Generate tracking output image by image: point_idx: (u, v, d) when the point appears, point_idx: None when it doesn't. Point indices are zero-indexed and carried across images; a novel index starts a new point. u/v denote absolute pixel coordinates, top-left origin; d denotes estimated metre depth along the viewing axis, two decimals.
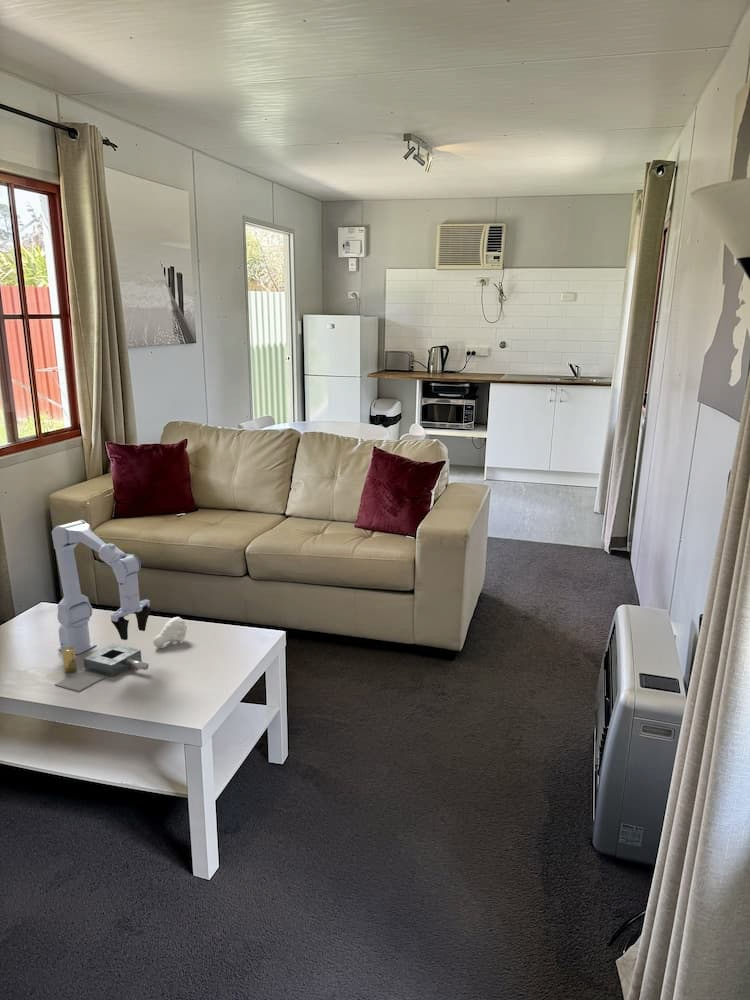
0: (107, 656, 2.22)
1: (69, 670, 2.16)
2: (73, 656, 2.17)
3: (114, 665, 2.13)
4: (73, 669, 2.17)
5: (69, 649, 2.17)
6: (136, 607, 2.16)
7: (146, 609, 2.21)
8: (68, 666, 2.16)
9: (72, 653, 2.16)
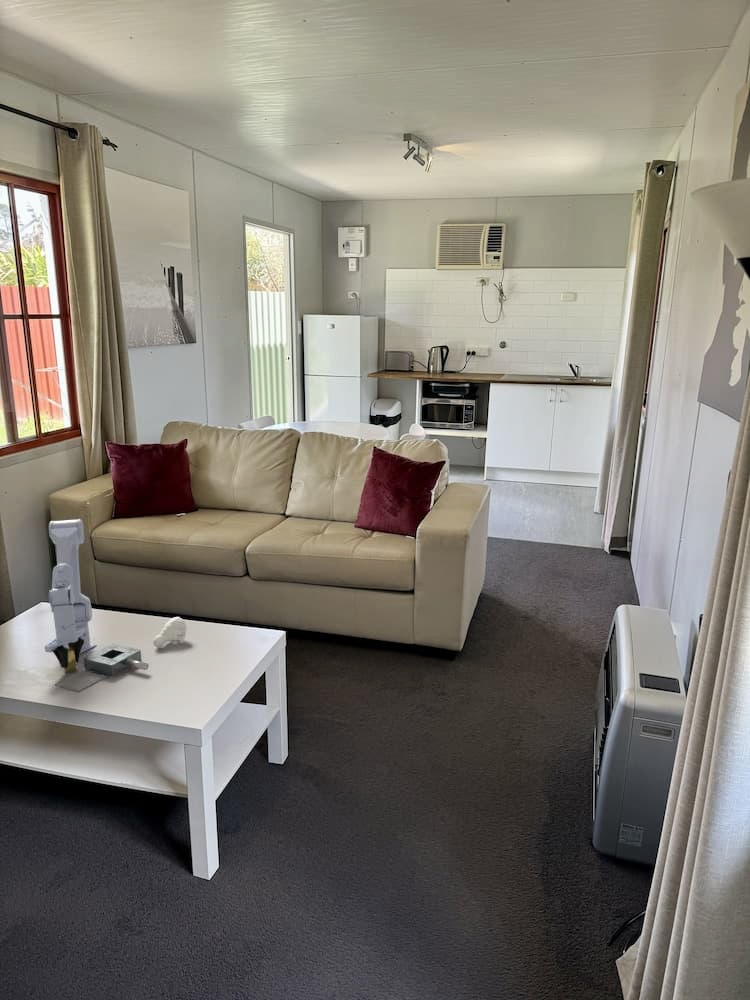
0: (107, 656, 2.22)
1: (69, 670, 2.16)
2: (73, 656, 2.17)
3: (114, 665, 2.13)
4: (73, 669, 2.17)
5: (69, 649, 2.17)
6: (71, 637, 2.14)
7: (79, 641, 2.18)
8: (68, 666, 2.16)
9: (72, 653, 2.16)
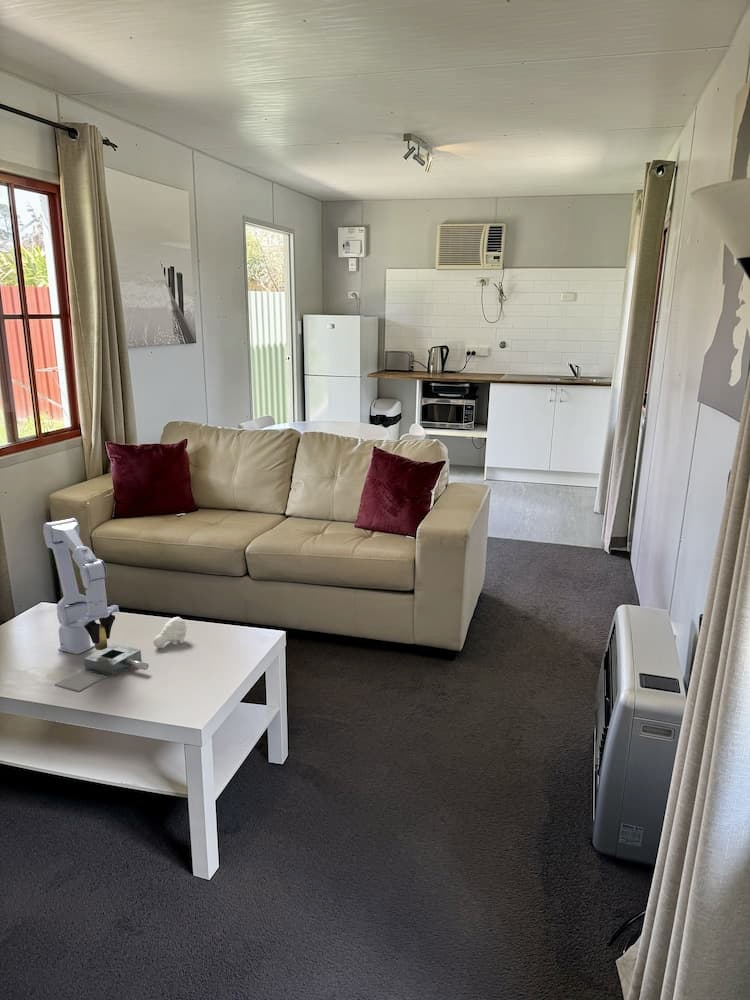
0: (107, 656, 2.22)
1: (101, 647, 2.17)
2: (105, 633, 2.18)
3: (114, 665, 2.13)
4: (105, 646, 2.18)
5: (100, 626, 2.17)
6: (103, 613, 2.15)
7: (110, 616, 2.18)
8: (100, 642, 2.17)
9: (104, 630, 2.17)
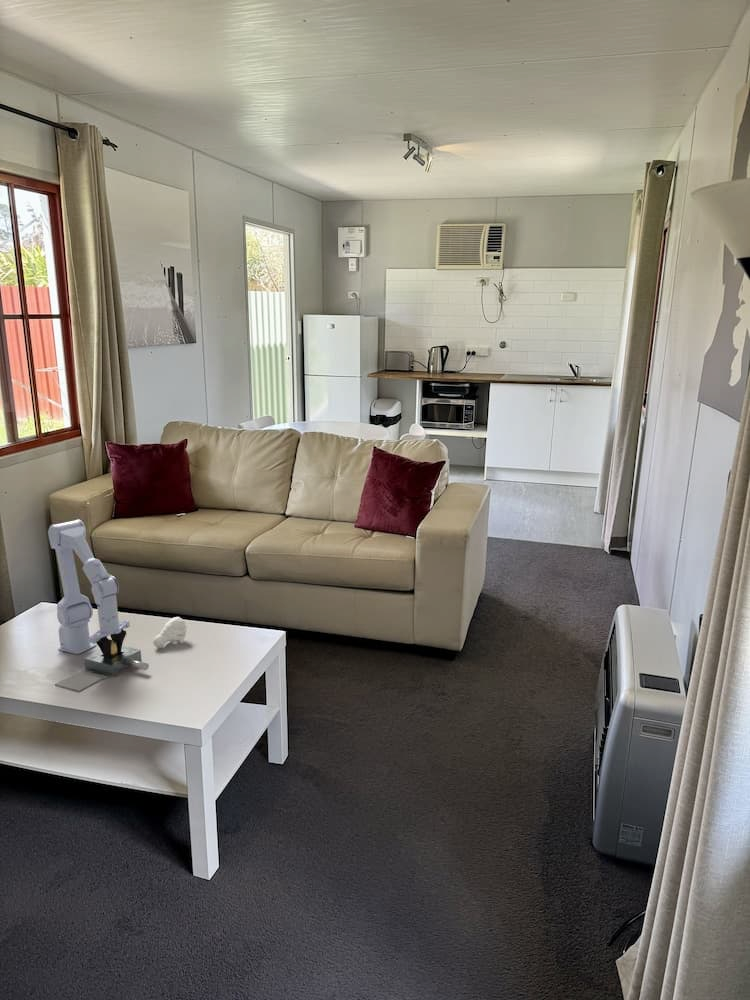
0: None
1: None
2: (116, 648, 2.19)
3: (114, 665, 2.13)
4: None
5: None
6: (115, 629, 2.16)
7: (121, 632, 2.20)
8: (112, 658, 2.19)
9: (115, 645, 2.19)
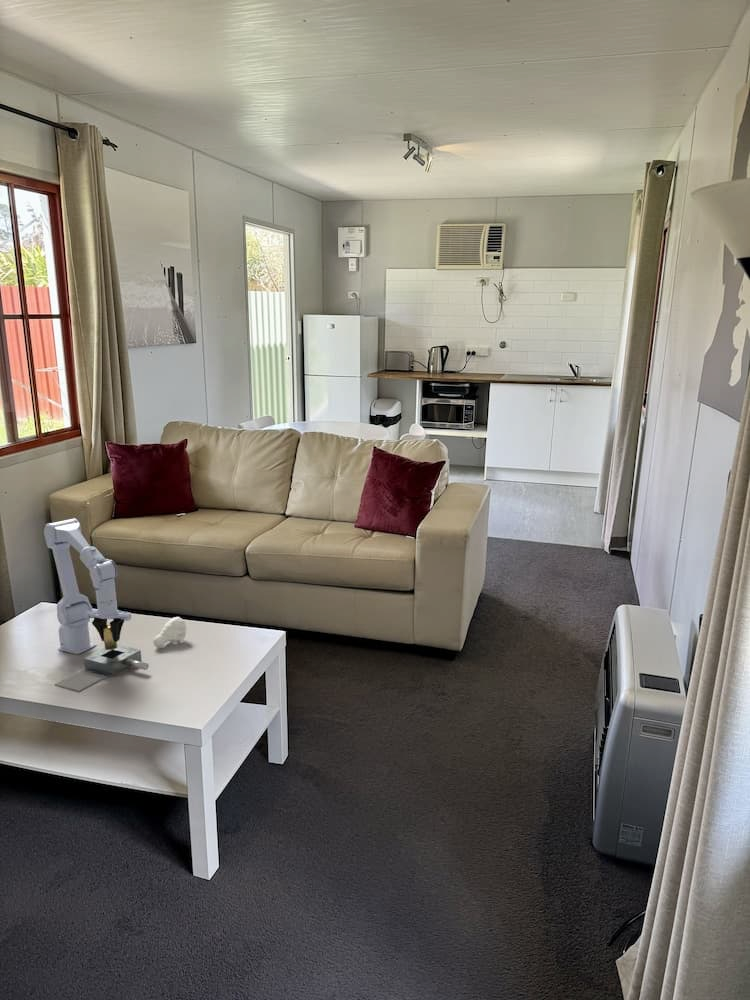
0: (107, 656, 2.22)
1: None
2: None
3: (114, 665, 2.13)
4: None
5: (108, 626, 2.18)
6: None
7: None
8: None
9: None
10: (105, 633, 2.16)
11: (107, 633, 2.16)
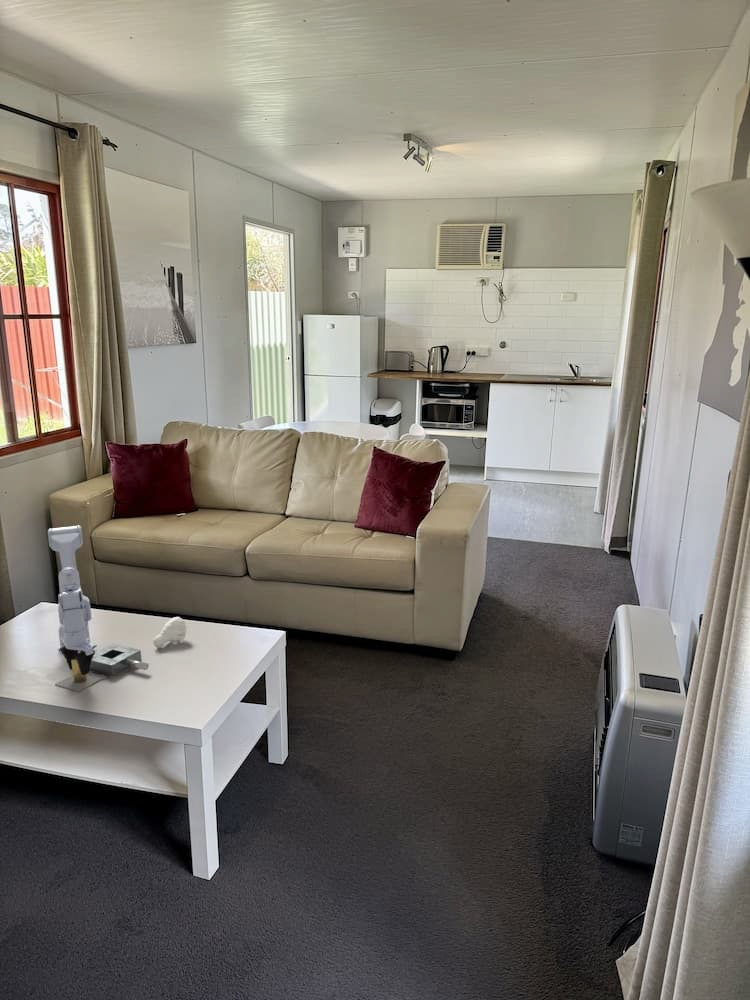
0: (107, 656, 2.22)
1: (86, 676, 2.11)
2: None
3: (114, 665, 2.13)
4: None
5: None
6: None
7: None
8: None
9: None
10: (72, 664, 2.08)
11: (73, 665, 2.08)
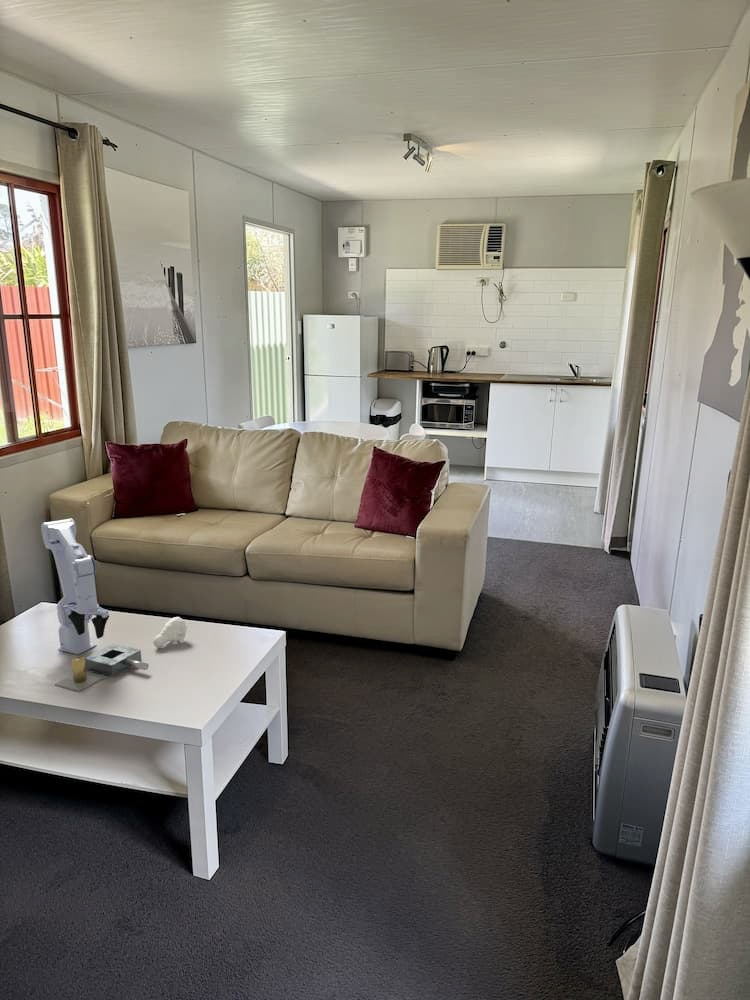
0: (107, 656, 2.22)
1: (86, 677, 2.11)
2: None
3: (114, 665, 2.13)
4: None
5: (78, 658, 2.09)
6: None
7: None
8: (85, 672, 2.10)
9: None
10: (72, 665, 2.08)
11: (73, 666, 2.08)
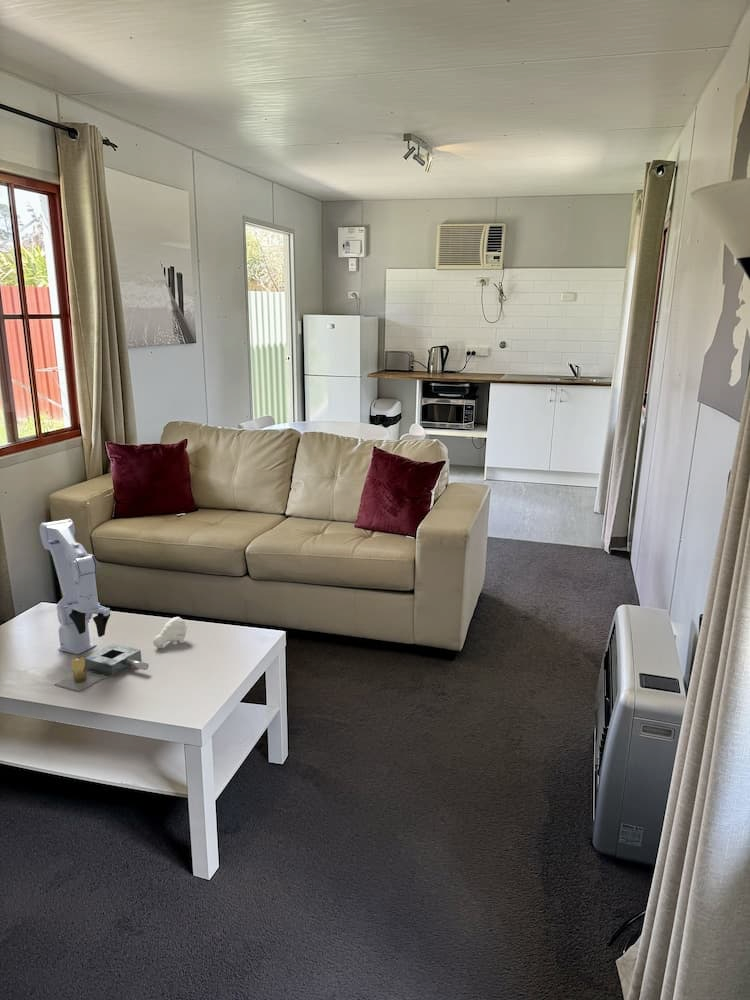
0: (107, 656, 2.22)
1: (86, 676, 2.11)
2: None
3: (114, 665, 2.13)
4: None
5: (77, 658, 2.09)
6: None
7: None
8: (85, 672, 2.10)
9: None
10: (72, 665, 2.08)
11: (73, 666, 2.08)
